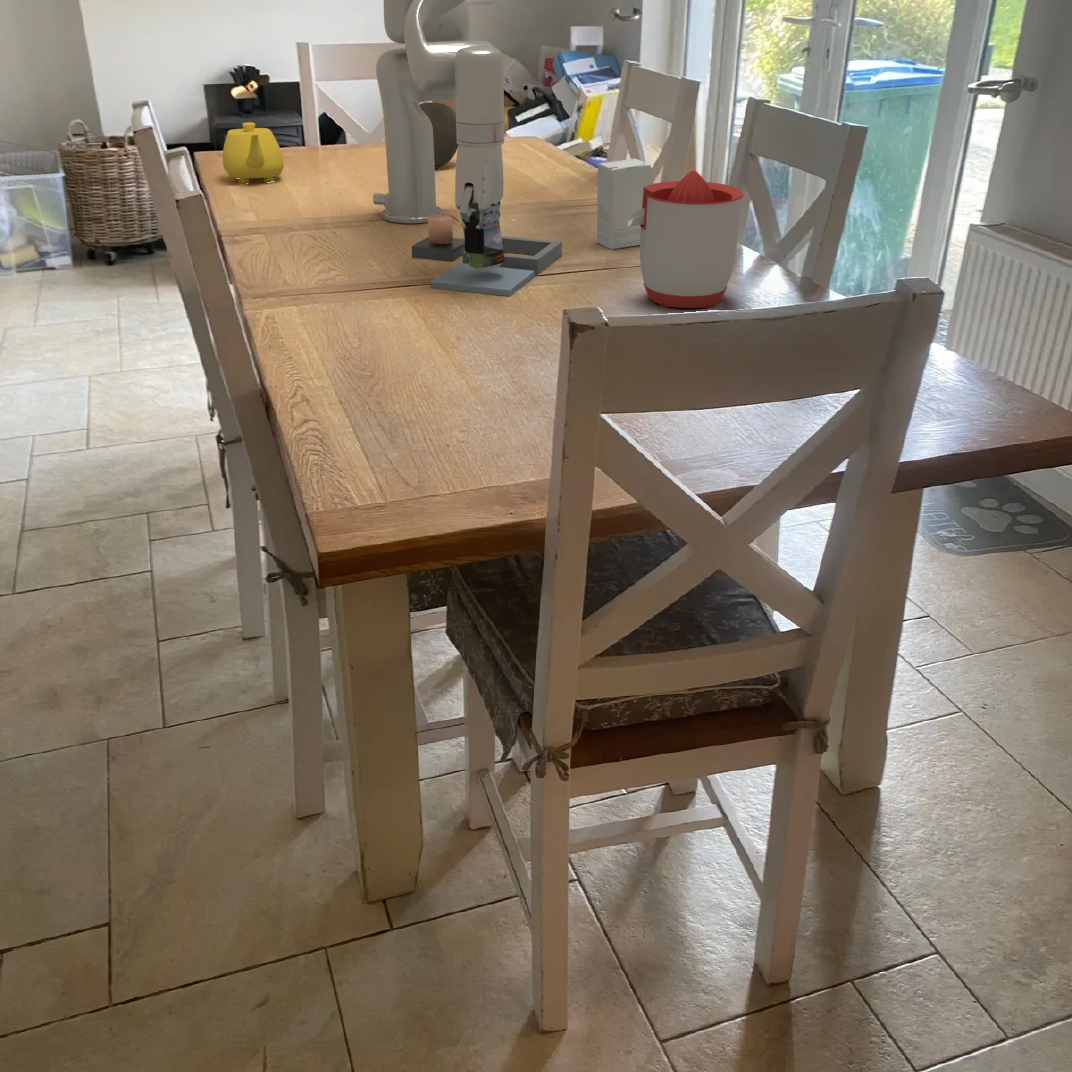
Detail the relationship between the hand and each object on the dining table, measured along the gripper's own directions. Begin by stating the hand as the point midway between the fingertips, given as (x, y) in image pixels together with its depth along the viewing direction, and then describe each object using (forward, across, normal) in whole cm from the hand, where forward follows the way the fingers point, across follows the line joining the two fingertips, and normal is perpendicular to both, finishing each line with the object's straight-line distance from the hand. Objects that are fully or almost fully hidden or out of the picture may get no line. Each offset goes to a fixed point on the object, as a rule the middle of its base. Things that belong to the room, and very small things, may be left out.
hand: (482, 246), depth 177 cm
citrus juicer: (+6, -2, +33) cm, 34 cm away
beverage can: (+4, 0, 0) cm, 4 cm away
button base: (+6, -14, -14) cm, 20 cm away
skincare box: (+6, -32, +15) cm, 36 cm away
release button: (+4, -14, -14) cm, 20 cm away
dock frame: (+6, -14, 0) cm, 15 cm away
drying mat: (+6, 0, 0) cm, 6 cm away
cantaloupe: (+7, -88, -49) cm, 101 cm away
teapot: (+7, -57, -81) cm, 99 cm away
